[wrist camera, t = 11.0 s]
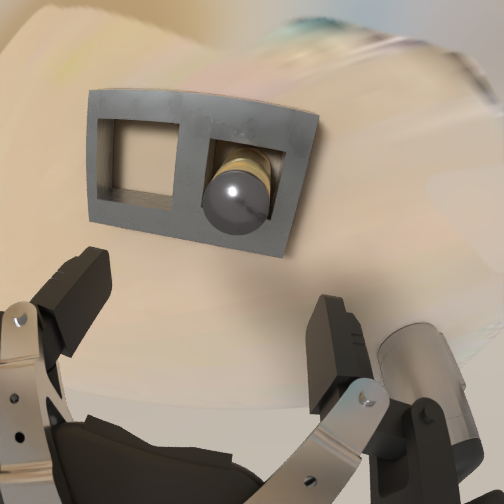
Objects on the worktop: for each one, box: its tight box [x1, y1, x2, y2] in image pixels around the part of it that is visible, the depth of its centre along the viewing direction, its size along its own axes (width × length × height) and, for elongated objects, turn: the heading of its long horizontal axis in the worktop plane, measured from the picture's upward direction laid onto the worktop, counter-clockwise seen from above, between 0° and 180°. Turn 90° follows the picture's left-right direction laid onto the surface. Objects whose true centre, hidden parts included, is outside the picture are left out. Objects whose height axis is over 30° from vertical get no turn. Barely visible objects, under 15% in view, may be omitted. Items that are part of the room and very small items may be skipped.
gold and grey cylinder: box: [202, 147, 271, 235], centre depth 21 cm, size 4×4×8 cm
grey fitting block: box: [86, 88, 319, 258], centre depth 23 cm, size 18×12×3 cm, turn 80°
